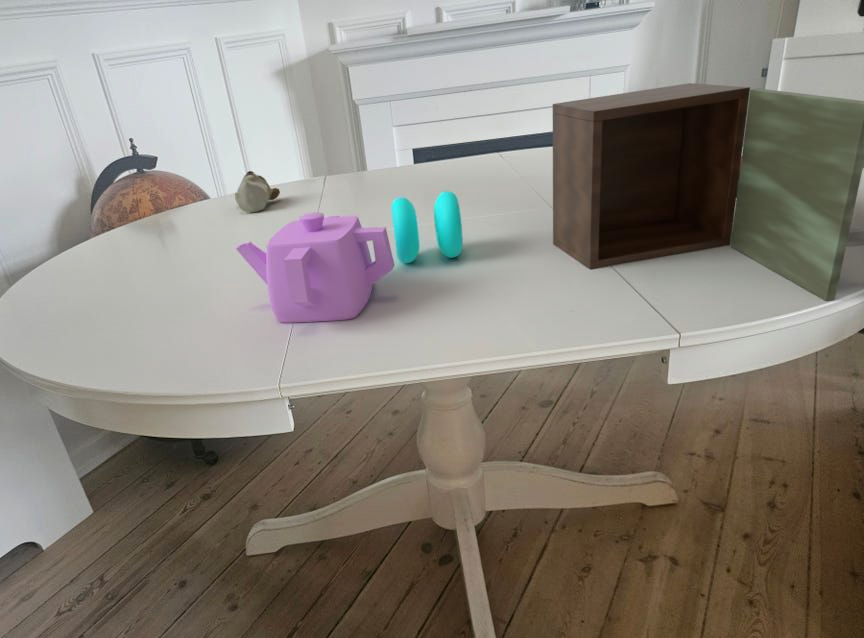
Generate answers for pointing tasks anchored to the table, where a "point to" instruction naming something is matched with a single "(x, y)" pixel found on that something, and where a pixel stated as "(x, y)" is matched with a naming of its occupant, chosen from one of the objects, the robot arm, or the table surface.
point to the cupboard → (647, 172)
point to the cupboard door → (800, 186)
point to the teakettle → (320, 267)
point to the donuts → (445, 227)
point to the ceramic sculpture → (254, 193)
